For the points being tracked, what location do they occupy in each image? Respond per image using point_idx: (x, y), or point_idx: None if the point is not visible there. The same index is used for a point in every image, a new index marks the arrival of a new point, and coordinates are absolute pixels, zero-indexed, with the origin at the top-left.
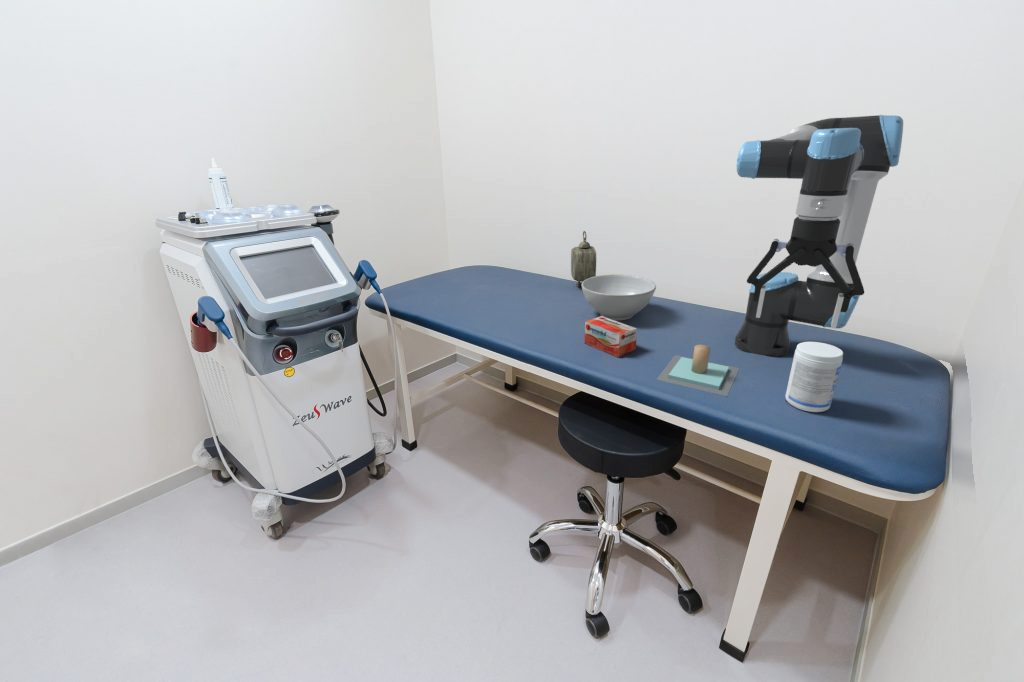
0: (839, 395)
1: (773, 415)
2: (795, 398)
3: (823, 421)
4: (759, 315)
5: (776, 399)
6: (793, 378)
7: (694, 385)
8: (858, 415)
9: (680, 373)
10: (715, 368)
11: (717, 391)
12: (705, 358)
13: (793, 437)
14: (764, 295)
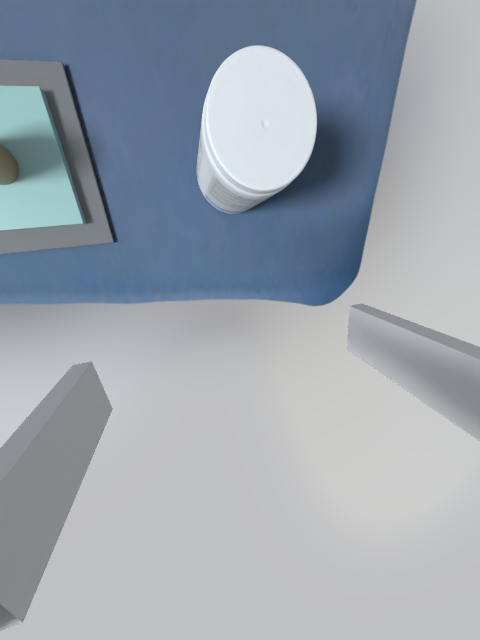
0: None
1: (197, 255)
2: (218, 207)
3: (259, 228)
4: (105, 416)
5: (186, 191)
6: (211, 189)
7: (37, 235)
8: None
9: None
10: (19, 122)
11: (89, 233)
12: None
13: (233, 298)
14: (31, 450)
